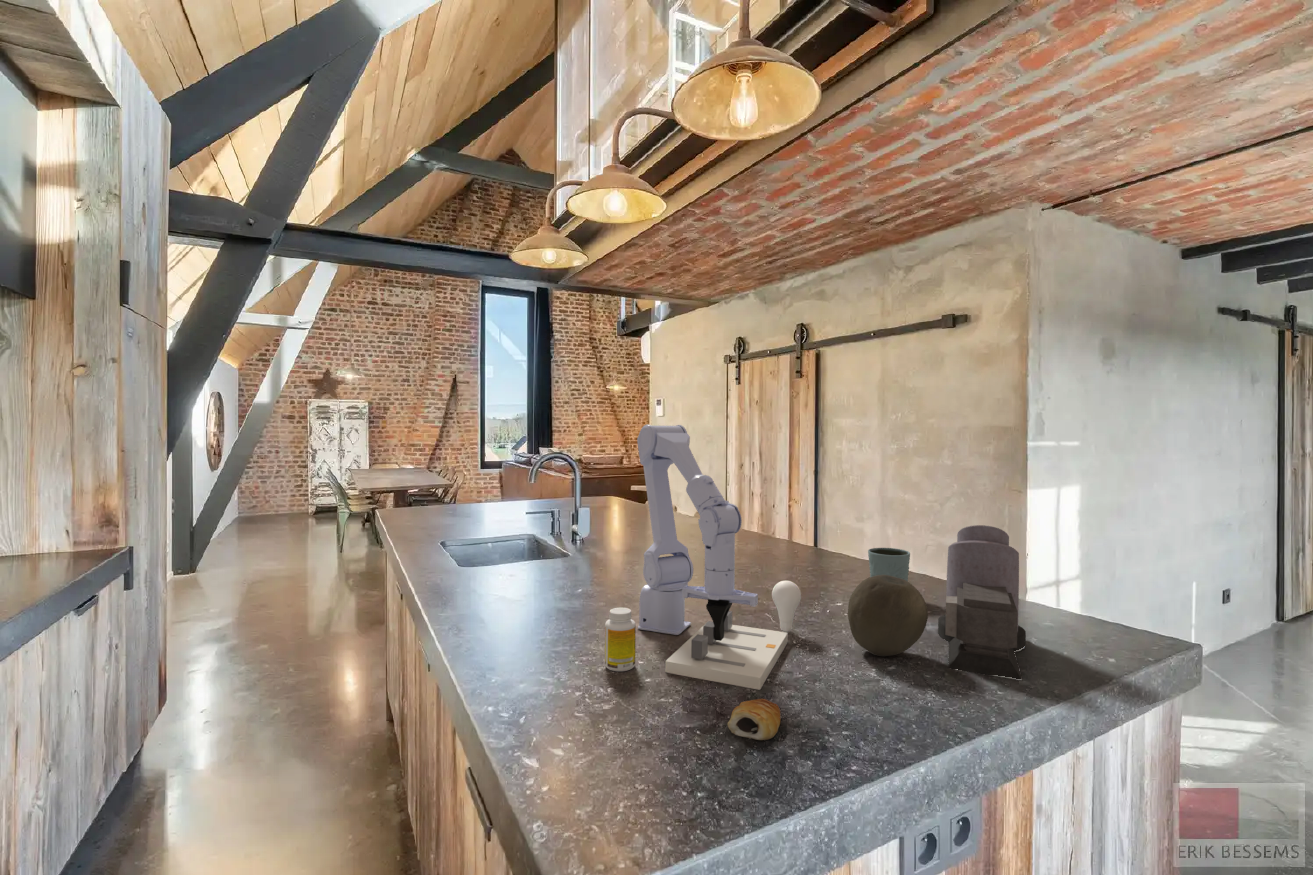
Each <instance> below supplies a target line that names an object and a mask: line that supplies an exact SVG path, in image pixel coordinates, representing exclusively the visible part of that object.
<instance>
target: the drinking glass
mask: <svg viewBox="0 0 1313 875" xmlns="http://www.w3.org/2000/svg"><path fill="white" fill-rule="evenodd" d="M867 555H868V563H869V564H868V565H869V566H868V567H869V574H870V575H869V577H873V576H876V575H889V576H894V577H897V578H901V579H904V580H906V581H907V582H909V570H910V562H911V561H910V560H911V559H910V558H911V553H910V551H909V550H905V549H901V548H894V547H873V548H869V549H868V550H867Z"/></svg>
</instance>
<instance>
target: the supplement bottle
mask: <svg viewBox="0 0 1313 875" xmlns="http://www.w3.org/2000/svg"><path fill="white" fill-rule="evenodd" d="M608 617H609V618H608V619H607V620H606V621H605V624H604V666H605V667H606V668H607V669H608V670H610V671H613V672H618V673H619V672H627V671H629V670H632V669H634V667H635V665H636V629H637V628H636V627H637V626H636V621H635V620H634V619H632V617H633V616H632V609H630V608H628V607H614V608H611V609H610V610H609V615H608Z"/></svg>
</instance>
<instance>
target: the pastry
mask: <svg viewBox="0 0 1313 875" xmlns="http://www.w3.org/2000/svg"><path fill="white" fill-rule="evenodd" d="M780 725H781V709H780V707H779V705H778V704H776V703H775V702H772V701H771V700H768V699H766V698H757V699H751V700H745V701H741V702H740V703H739V705H736V706H735V707H734V708H733V710H732V711H731V715H730V718H729V721H728V722H727V727H728V729H729V731H730V732H731V734H734V735H735V736H739V737H741V738H742V737H743V738H748V739H753V740H756V741H767V740H771V739H772V738H774V737H775V736H776V734H777V733H778V731H779V727H780Z"/></svg>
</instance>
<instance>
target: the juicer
mask: <svg viewBox="0 0 1313 875" xmlns="http://www.w3.org/2000/svg"><path fill="white" fill-rule="evenodd" d="M956 540H957V541H956V542H953V543H951V544H950V545H949V546H948V548H947V561H946V562H947V566H946V596H945V598H946V599H945V614H943V615H940V616H939V617H938V618H937V619H938V620H937V635H938V634H939V635H938V636H939V637H940V638H941V639H942V640H944V639H945V640H946V641H945V640H944V641H945V642H947V641H948V655H949V658H948V657H947V660H948V661H949V662H948V661H947V669H948V668H951V669H950V670H953V669H958V670H957V671H959V670H962V671H961V672H965V671H967V673H972V674H978V675H983V674H985V675H984V676H988V675H998V676H1005V677H1012V678H1016V679H1021V676H1022V673H1021V674H1020V672H1021V670H1020V671H1019V668H1020V666H1019V667H1018V664H1019V663H1018V664H1017V661H1018V659H1017V660H1016V657H1017V656H1016V657H1015V654H1014V653H1016V652H1014V651H1016V650H1019V649H1021V648H1023V647H1024V646H1025V645H1026V644H1027V643H1026V639H1027V636H1026V630H1025V629H1024V627H1022V626H1021V625H1019V603H1020V602H1019V600H1020V598H1019V594H1020V593H1019V592H1020V591H1019V590H1020V553H1019V551H1018V550H1016V549H1015V548H1014V547H1012V546H1010V536H1009V535H1008V533H1007V532H1006V531H1005V530H1003V529H1001V528H998V527H995V526H991V525H984V524H983V525H979V524H978V525H975V524H974V525H969V526H965V527H962V528H961V529H959V530H958V532H957V535H956ZM1026 646H1027V645H1026ZM948 663H949V664H948Z"/></svg>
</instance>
